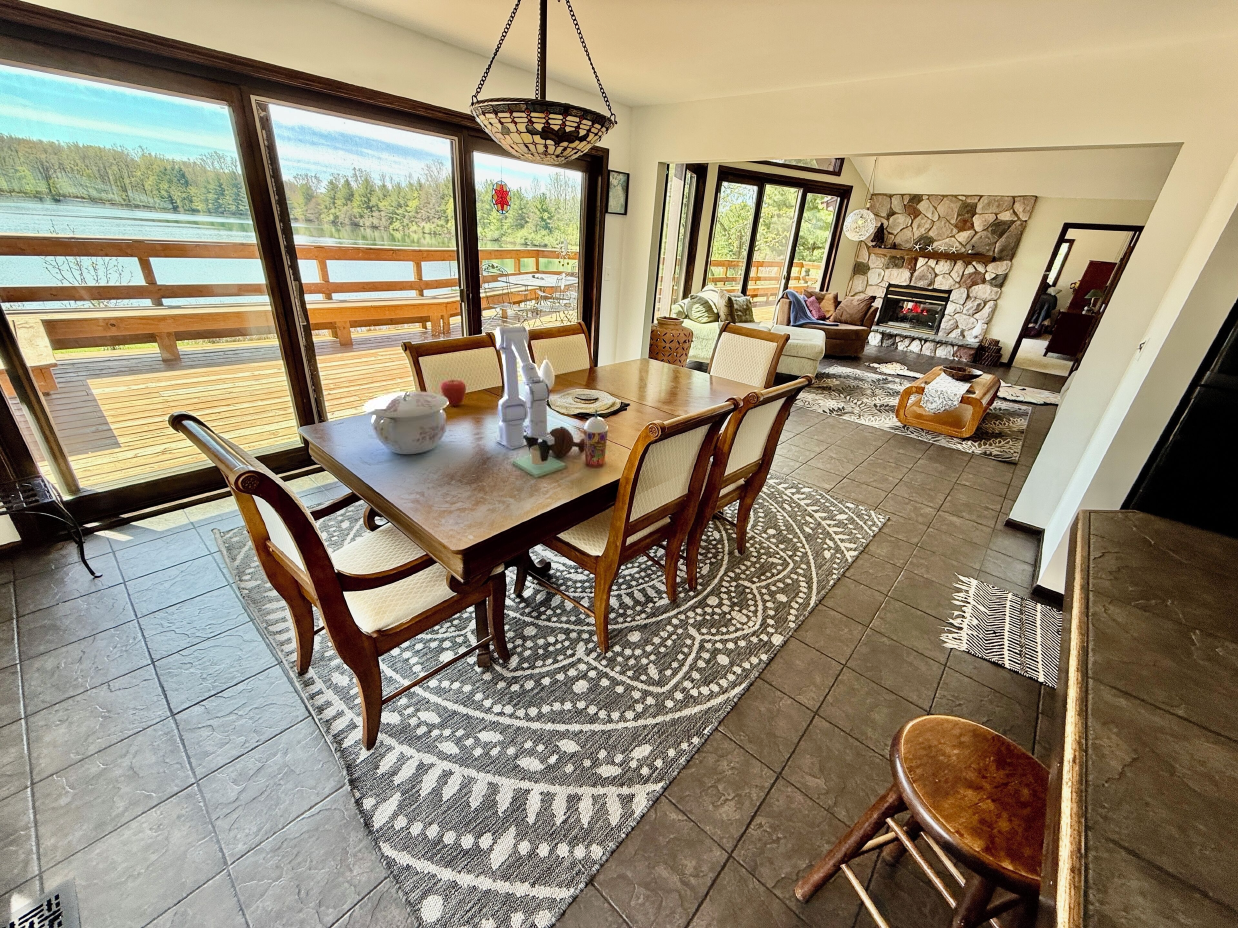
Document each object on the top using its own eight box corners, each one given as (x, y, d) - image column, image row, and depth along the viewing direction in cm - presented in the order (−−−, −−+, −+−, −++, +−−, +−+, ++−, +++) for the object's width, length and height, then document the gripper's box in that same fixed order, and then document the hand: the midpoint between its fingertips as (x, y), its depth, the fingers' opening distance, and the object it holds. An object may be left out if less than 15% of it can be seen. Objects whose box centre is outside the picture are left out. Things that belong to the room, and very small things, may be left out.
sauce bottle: (537, 391, 241) (536, 356, 234) (541, 387, 248) (541, 352, 241) (552, 393, 240) (551, 357, 233) (556, 389, 247) (556, 354, 239)
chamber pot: (431, 427, 192) (425, 377, 183) (467, 448, 175) (462, 394, 166) (358, 445, 173) (346, 389, 164) (390, 471, 157) (379, 410, 148)
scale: (511, 463, 166) (511, 455, 165) (541, 453, 174) (541, 446, 173) (536, 477, 157) (536, 469, 156) (566, 467, 165) (566, 459, 164)
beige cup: (527, 461, 161) (526, 447, 158) (540, 457, 164) (540, 443, 162) (537, 467, 157) (536, 453, 155) (550, 462, 161) (550, 448, 159)
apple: (463, 409, 213) (460, 383, 207) (439, 408, 213) (435, 381, 207) (470, 401, 223) (468, 376, 217) (447, 400, 223) (444, 375, 217)
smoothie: (597, 471, 163) (599, 415, 155) (578, 464, 167) (578, 410, 159) (611, 462, 170) (613, 409, 161) (591, 456, 174) (593, 404, 165)
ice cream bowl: (583, 464, 173) (544, 459, 166) (573, 452, 182) (536, 446, 175) (592, 438, 170) (552, 430, 162) (581, 427, 179) (544, 419, 171)
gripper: (514, 415, 156) (516, 453, 162) (541, 428, 147) (542, 468, 153) (532, 411, 161) (533, 448, 167) (559, 423, 152) (559, 462, 157)
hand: (538, 457), depth 160 cm, fingers closed on beige cup, 5 cm apart
